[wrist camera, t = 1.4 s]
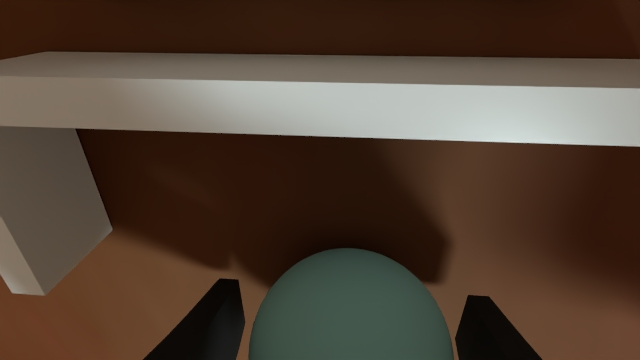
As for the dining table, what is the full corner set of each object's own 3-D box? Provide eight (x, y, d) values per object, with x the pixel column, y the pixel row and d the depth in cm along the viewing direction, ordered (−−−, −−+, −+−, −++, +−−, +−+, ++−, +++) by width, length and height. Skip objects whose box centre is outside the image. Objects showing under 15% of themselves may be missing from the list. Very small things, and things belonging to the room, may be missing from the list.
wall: (641, 59, 8) (783, 91, 5) (555, 255, 11) (619, 339, 8) (12, 51, 9) (-125, 73, 7) (86, 228, 12) (12, 292, 9)
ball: (443, 215, 10) (521, 409, 6) (418, 333, 13) (455, 533, 8) (267, 206, 11) (195, 379, 6) (277, 322, 14) (234, 506, 9)
